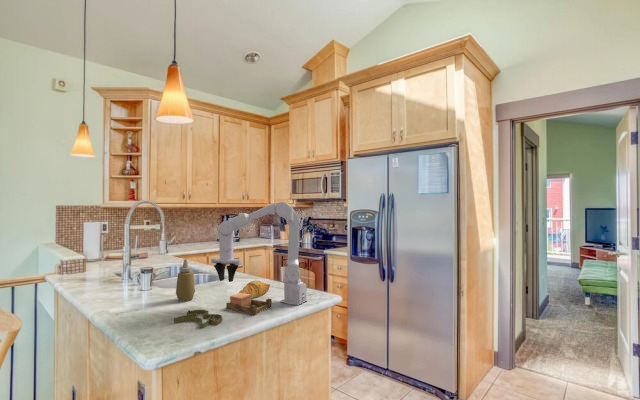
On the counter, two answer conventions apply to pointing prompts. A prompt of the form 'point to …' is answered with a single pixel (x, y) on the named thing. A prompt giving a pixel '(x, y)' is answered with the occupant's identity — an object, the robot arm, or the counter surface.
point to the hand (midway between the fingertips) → (226, 281)
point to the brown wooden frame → (253, 308)
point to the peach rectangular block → (241, 299)
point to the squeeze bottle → (185, 283)
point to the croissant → (255, 288)
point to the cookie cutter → (193, 317)
